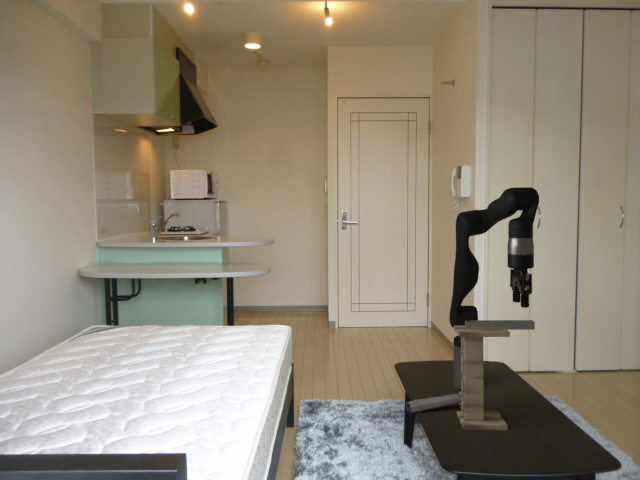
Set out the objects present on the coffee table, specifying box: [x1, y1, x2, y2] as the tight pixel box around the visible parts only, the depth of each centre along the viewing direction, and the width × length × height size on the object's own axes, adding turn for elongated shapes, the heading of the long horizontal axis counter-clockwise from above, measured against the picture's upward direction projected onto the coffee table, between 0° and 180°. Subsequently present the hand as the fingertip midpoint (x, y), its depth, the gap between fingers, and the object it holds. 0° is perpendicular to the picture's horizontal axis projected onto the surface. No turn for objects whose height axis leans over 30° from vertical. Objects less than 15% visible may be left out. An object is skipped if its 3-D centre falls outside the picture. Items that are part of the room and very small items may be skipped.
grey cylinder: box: [405, 390, 461, 414], centre depth 180 cm, size 5×7×25 cm
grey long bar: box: [465, 319, 536, 331], centre depth 166 cm, size 3×22×3 cm, turn 85°
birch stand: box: [453, 326, 511, 431], centre depth 167 cm, size 12×16×32 cm
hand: (520, 304), depth 154 cm, fingers open, 8 cm apart
